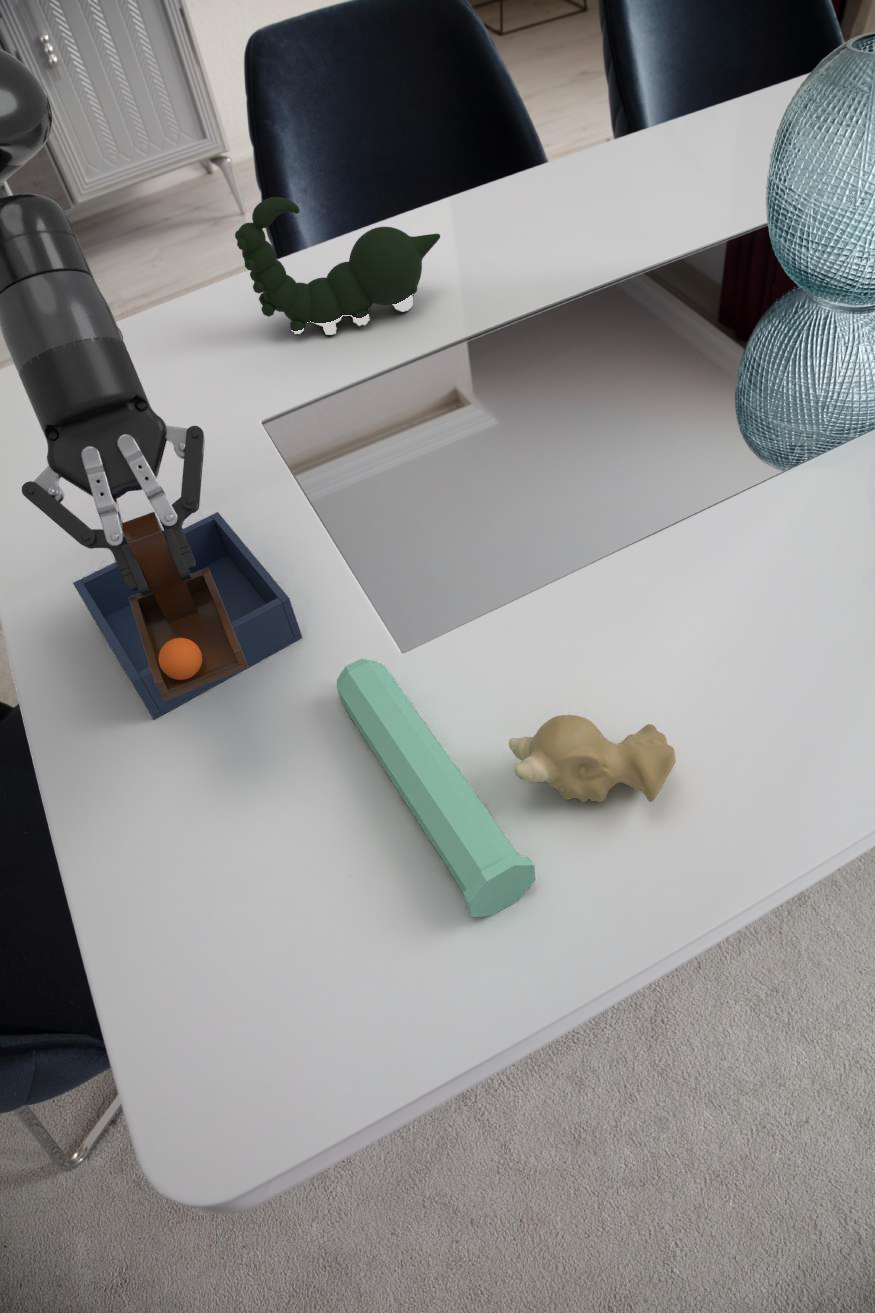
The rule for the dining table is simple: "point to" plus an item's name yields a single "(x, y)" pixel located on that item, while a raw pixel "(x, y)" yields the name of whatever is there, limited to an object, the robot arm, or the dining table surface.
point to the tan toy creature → (592, 759)
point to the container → (435, 791)
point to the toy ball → (180, 658)
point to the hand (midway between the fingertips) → (167, 585)
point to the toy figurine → (333, 271)
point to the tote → (242, 588)
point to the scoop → (179, 612)
